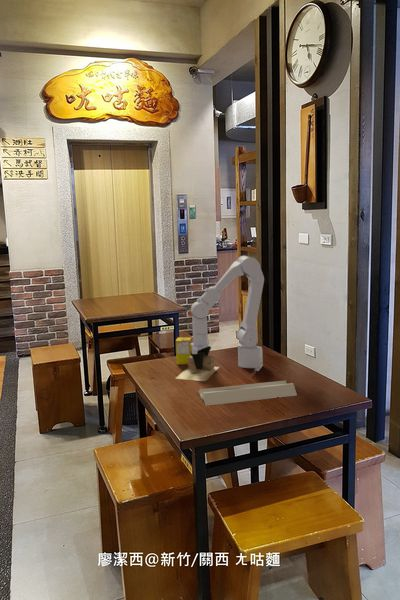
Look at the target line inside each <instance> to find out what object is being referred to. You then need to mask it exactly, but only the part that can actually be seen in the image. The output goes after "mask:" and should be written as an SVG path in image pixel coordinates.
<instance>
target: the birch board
mask: <svg viewBox="0 0 400 600" xmlns="http://www.w3.org/2000/svg"><path fill="white" fill-rule="evenodd" d="M219 368H220V366H214V369H213V370H212V371H211V372H204V371H192V370H189V368H188V367H187V368H186V369H184V370H183V371H182V372H181V373H180V374H178V376H176V377H175V379H177V380H187V381H197V382H198V381H199V382H206V381H207V380H209V379H210V378H211V376H212V375H214V373H215V372H216V371H218V369H219Z"/></svg>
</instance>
